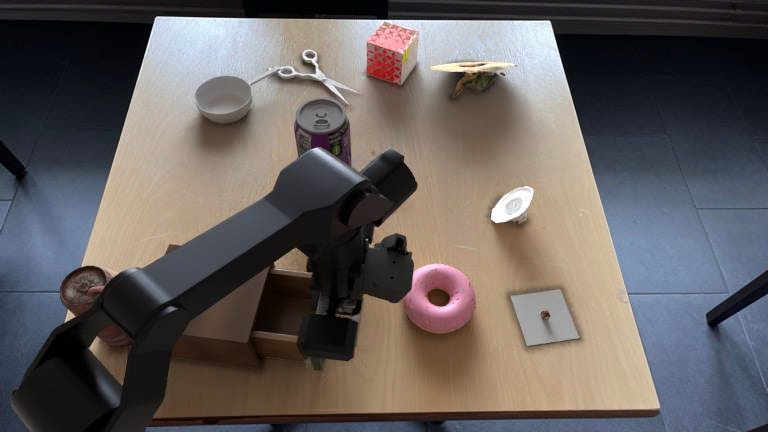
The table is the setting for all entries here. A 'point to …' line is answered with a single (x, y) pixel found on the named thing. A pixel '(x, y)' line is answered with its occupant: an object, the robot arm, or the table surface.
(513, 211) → the white footed dish
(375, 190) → the robot arm
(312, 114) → the beverage can
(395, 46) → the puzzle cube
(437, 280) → the doughnut
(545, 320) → the grey square plate
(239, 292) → the cabinet
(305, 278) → the drawer
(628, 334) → the table surface
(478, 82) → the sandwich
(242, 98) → the saucepan
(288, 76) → the scissors
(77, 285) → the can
